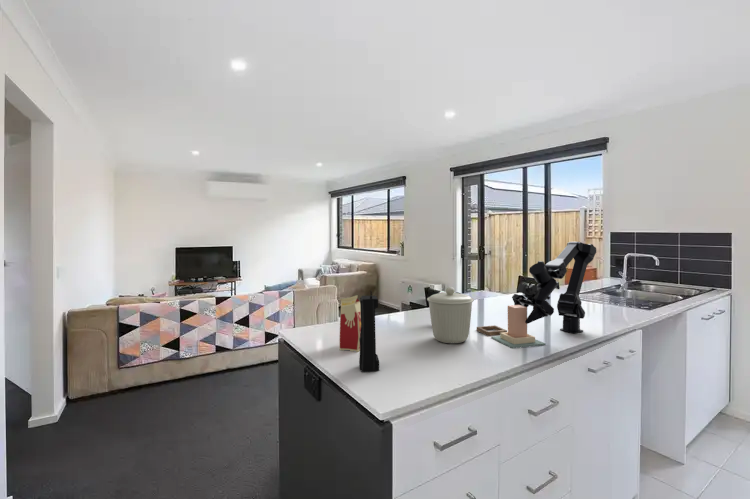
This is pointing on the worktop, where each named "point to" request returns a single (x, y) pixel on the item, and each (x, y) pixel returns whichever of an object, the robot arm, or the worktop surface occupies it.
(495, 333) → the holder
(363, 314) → the portable radio
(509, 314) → the peg
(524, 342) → the mat
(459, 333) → the canister
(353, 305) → the milk carton
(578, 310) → the robot arm
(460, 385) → the worktop surface
